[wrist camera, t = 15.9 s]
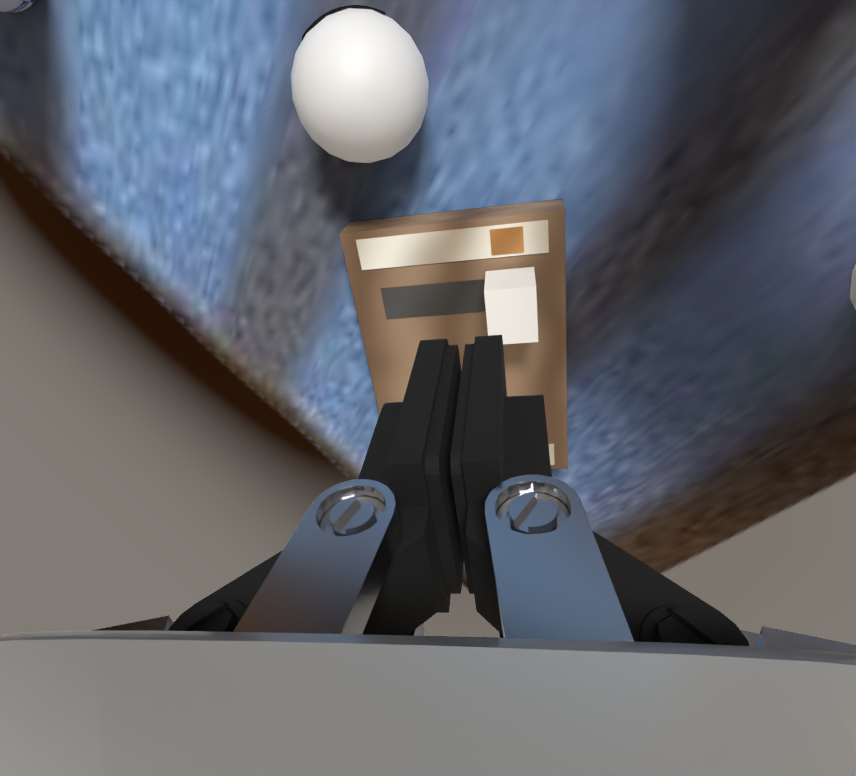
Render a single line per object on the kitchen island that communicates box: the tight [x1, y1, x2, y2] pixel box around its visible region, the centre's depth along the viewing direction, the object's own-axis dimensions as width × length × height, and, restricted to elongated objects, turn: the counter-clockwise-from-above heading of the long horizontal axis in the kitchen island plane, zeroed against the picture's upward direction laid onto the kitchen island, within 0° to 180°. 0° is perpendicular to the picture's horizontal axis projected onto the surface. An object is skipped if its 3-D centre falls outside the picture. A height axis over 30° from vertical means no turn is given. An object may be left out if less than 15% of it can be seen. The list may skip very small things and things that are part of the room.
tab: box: [484, 267, 538, 344], centre depth 35 cm, size 3×4×3 cm
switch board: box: [339, 199, 568, 469], centre depth 41 cm, size 14×20×3 cm
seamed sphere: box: [256, 5, 429, 163], centre depth 30 cm, size 10×7×7 cm
